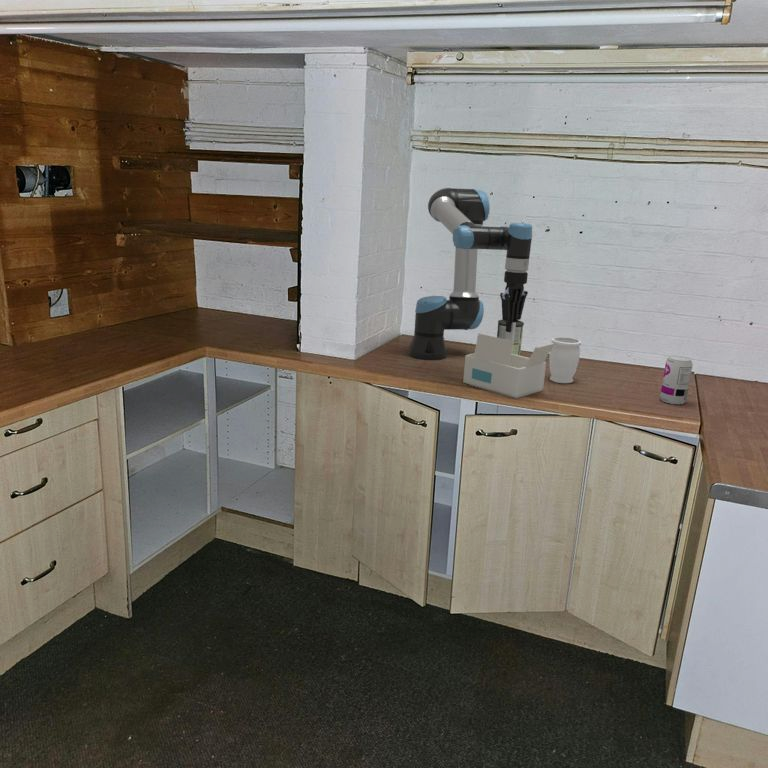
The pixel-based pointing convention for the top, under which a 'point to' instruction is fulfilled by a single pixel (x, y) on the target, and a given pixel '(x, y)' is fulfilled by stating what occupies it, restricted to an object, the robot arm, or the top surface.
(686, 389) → the supplement can
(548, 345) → the end flap
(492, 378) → the carton
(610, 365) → the top surface
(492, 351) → the front flap
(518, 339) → the coffee can
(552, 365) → the jar
